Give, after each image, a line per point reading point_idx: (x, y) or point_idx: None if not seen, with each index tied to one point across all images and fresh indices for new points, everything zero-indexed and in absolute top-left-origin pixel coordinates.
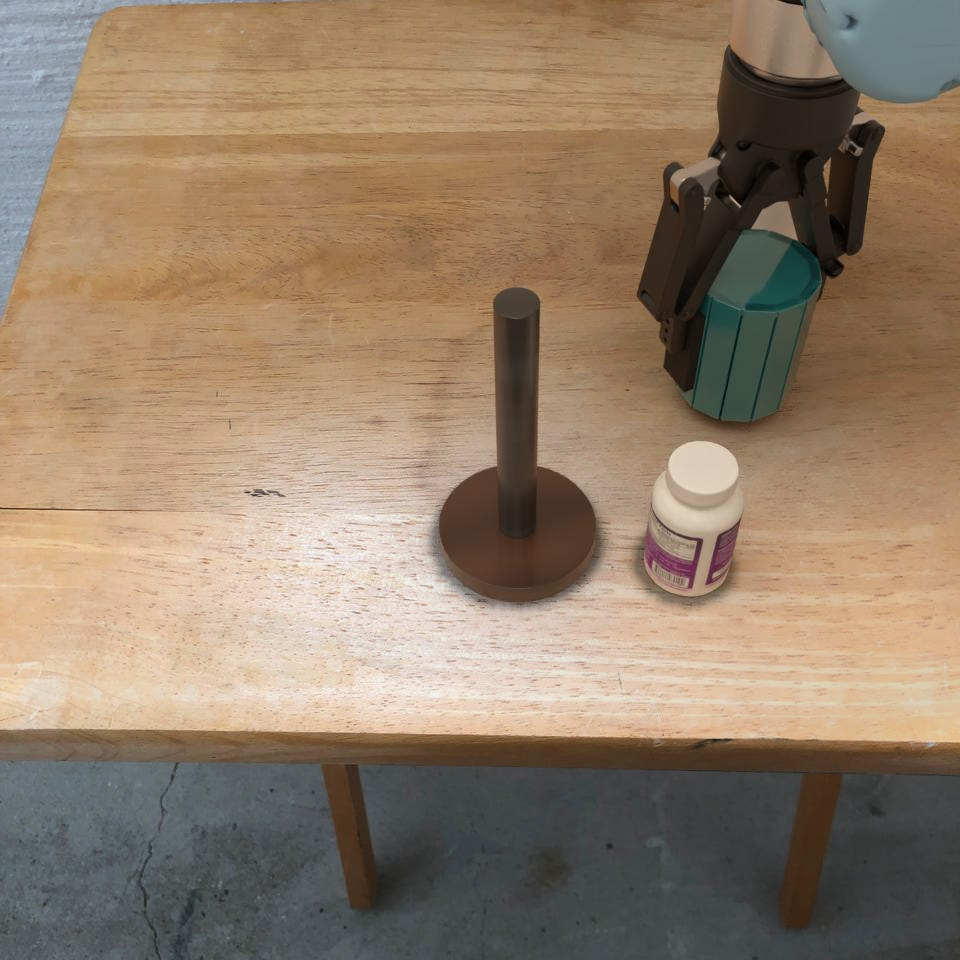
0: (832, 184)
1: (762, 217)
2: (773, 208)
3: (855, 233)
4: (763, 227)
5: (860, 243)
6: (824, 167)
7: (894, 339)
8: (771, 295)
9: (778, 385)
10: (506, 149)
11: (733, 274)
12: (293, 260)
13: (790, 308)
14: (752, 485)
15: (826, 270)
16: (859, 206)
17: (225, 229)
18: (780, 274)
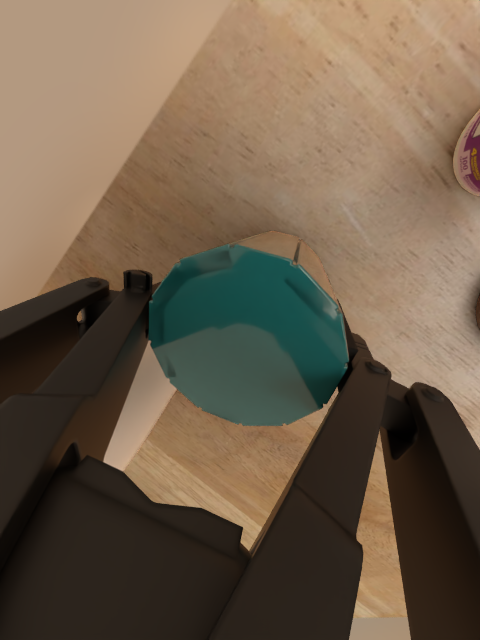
0: (27, 387)
1: (150, 382)
2: (136, 385)
3: (71, 293)
4: (155, 373)
5: (81, 282)
6: None
7: (132, 234)
8: (267, 299)
9: (275, 234)
10: (219, 483)
11: (274, 369)
12: (379, 528)
13: (268, 253)
14: (346, 188)
15: (146, 287)
16: (12, 318)
17: (384, 557)
18: (217, 320)
